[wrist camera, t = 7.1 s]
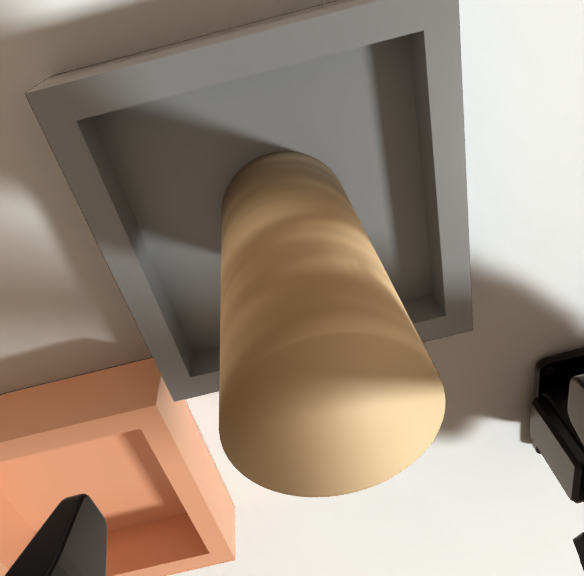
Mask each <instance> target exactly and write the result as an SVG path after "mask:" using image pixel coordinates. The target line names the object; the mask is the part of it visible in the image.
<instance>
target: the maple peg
mask: <svg viewBox="0 0 584 576" xmlns="http://www.w3.org/2000/svg"><path fill="white" fill-rule="evenodd" d="M444 413H445V392H444V387H443V384H442V381H441V379H440V376H439V374H438V372H437V370H436V368H435V366H434V365H433V363H432V361H431V359H430V357H429V355H428V353H427V351H426V349H425V347H424V345H423V343H422V341H421V339H420V337H419V335H418V333H417V331H416V329H415V327H414V325H413V324H412V322H411V320H410V318H409V316H408V314H407V312H406V310H405V308H404V306H403V304H402V302H401V300H400V298H399V296H398V294H397V292H396V290H395V288H394V286H393V285H392V283H391V281H390V279H389V277H388V275H387V273H386V271H385V269H384V267H383V265H382V263H381V261H380V259H379V257H378V255H377V253H376V251H375V249H374V247H373V245H372V244H371V242H370V240H369V238H368V236H367V234H366V232H365V230H364V228H363V226H362V224H361V222H360V220H359V218H358V216H357V214H356V212H355V210H354V208H353V206H352V205H351V203H350V201H349V199H348V197H347V195H346V193H345V191H344V189H343V187H342V185H341V183H340V181H339V180H338V178H337V176H336V175H335V174H334V173H333V171H332V170H331V169H330V168H329V167H328V166H327V165H325V164H324V163H322V162H321V161H320V160H318V159H316V158H314V157H312V156H309V155H306V154H303V153H299V152H291V151H282V152H274V153H269V154H266V155H263V156H260V157H258V158H256V159H254V160H252V161H251V162H249V163H248V164H246V165H245V166H244V167H243V168H241V169H240V170H239V171H238V172H237V173H236V175H235V176H234V177H233V179H232V180H231V181H230V183H229V185H228V187H227V189H226V191H225V194H224V197H223V202H222V223H221V305H220V387H219V433H220V440H221V443H222V446H223V449H224V452H225V453H226V455H227V457H228V459H229V460H230V462H231V463H232V464H233V465H234V467H235V468H236V469H237V470H238V471H240V472H241V473H242V474H243V475H244V476H245V477H247V478H248V479H250V480H251V481H253V482H255V483H256V484H258V485H260V486H262V487H265V488H267V489H270V490H273V491H275V492H279V493H283V494H287V495H294V496H302V497H329V496H338V495H343V494H349V493H353V492H357V491H360V490H364V489H367V488H369V487H372V486H375V485H377V484H379V483H382V482H384V481H386V480H388V479H390V478H392V477H393V476H395V475H397V474H398V473H400V472H401V471H403V470H404V469H406V468H407V467H408V466H410V465H411V464H412V463H413V462H414V461H416V460H417V459H418V458H419V457H420V456H421V455H422V454H423V453H424V452H425V451H426V449H427V448H428V447H429V446H430V444H431V443H432V441H433V440H434V439H435V437H436V435H437V433H438V431H439V429H440V427H441V424H442V421H443V418H444Z"/></svg>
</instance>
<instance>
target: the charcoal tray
mask: <svg viewBox="0 0 584 576" xmlns="http://www.w3.org/2000/svg"><path fill="white" fill-rule="evenodd" d="M25 95H26V97H27V99H28V101H29V104H30V106H31V108H32V110H33V112H34V114H35V116H36V118H37V120H38V122H39V124H40V126H41V128H42V130H43V132H44V134H45V137H46V139H47V141H48V143H49V145H50V147H51V149H52V151H53V153H54V155H55V157H56V159H57V161H58V163H59V165H60V167H61V170H62V172H63V174H64V176H65V178H66V180H67V182H68V184H69V186H70V188H71V190H72V192H73V194H74V196H75V198H76V200H77V203H78V205H79V207H80V209H81V211H82V213H83V215H84V217H85V219H86V221H87V223H88V225H89V227H90V229H91V231H92V234H93V236H94V238H95V240H96V242H97V244H98V246H99V248H100V250H101V252H102V254H103V256H104V258H105V260H106V262H107V264H108V267H109V269H110V271H111V273H112V275H113V277H114V279H115V281H116V283H117V285H118V287H119V289H120V291H121V293H122V295H123V297H124V300H125V302H126V304H127V306H128V308H129V310H130V312H131V314H132V316H133V318H134V320H135V322H136V324H137V326H138V328H139V330H140V333H141V335H142V337H143V339H144V341H145V343H146V345H147V347H148V349H149V351H150V353H151V355H152V357H153V359H154V361H155V364H156V366H157V368H158V370H159V372H160V374H161V376H162V378H163V380H164V382H165V384H166V386H167V388H168V390H169V392H170V394H171V397H172V399H173V401H174V402H176V401H180V400H184V399H188V398H192V397H196V396H201V395H205V394H209V393H213V392H217V391H219V387H220V305H221V223H222V202H223V197H224V194H225V191H226V189H227V187H228V185H229V183H230V181H231V180H232V179H233V177H234V176H235V175H236V173H237V172H238V171H239V170H240V169H241V168H243V167H244V166H245V165H246V164H248V163H249V162H251V161H252V160H254V159H256V158H258V157H260V156H263V155H266V154H269V153H274V152H282V151H291V152H299V153H303V154H306V155H309V156H312V157H314V158H316V159H318V160H320V161H321V162H322V163H324V164H325V165H327V166H328V167H329V168H330V169H331V170H332V171H333V173H334V174H335V175H336V176H337V178H338V180H339V181H340V183H341V185H342V187H343V189H344V191H345V193H346V195H347V197H348V199H349V201H350V203H351V205H352V206H353V208H354V210H355V212H356V214H357V216H358V218H359V220H360V222H361V224H362V226H363V228H364V230H365V232H366V234H367V236H368V238H369V240H370V242H371V244H372V245H373V247H374V249H375V251H376V253H377V255H378V257H379V259H380V261H381V263H382V265H383V267H384V269H385V271H386V273H387V275H388V277H389V279H390V281H391V283H392V285H393V286H394V288H395V290H396V292H397V294H398V296H399V298H400V300H401V302H402V304H403V306H404V308H405V310H406V312H407V314H408V316H409V318H410V320H411V322H412V324H413V325H414V327H415V329H416V331H417V333H418V335H419V337H420V339H421V341H422V342H425V341H430V340H434V339H438V338H442V337H446V336H450V335H455V334H459V333H463V332H467V331H471V330H473V318H472V295H471V273H470V250H469V227H468V204H467V181H466V158H465V135H464V112H463V89H462V67H461V44H460V21H459V0H338V1H334V2H330V3H327V4H323V5H319V6H315V7H311V8H308V9H304V10H300V11H296V12H292V13H289V14H285V15H281V16H277V17H273V18H270V19H266V20H262V21H258V22H254V23H251V24H247V25H243V26H239V27H235V28H232V29H228V30H224V31H220V32H216V33H213V34H209V35H205V36H201V37H197V38H194V39H190V40H186V41H182V42H178V43H175V44H171V45H167V46H163V47H159V48H156V49H152V50H148V51H144V52H140V53H137V54H133V55H129V56H125V57H121V58H118V59H114V60H110V61H106V62H102V63H99V64H95V65H91V66H87V67H83V68H80V69H76V70H72V71H68V72H64V73H61V74H57V75H53V76H50V77H49V78H47V79H46V80H44V81H43V82H41V83H40V84H38V85H37V86H35V87H34V88H32V89H31V90H30V91H28V92H27V93H25Z"/></svg>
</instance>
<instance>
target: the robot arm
mask: <svg viewBox="0 0 584 576" xmlns="http://www.w3.org/2000/svg"><path fill="white" fill-rule="evenodd" d="M547 368H548V369H547ZM530 436H531V438H532V444H533V447H534V449H535V450H536V452H537V453H539V454H542V455H543V457H544V459H545V460H546V462H547V463H548V465H549V467H550V468H551V470H552V471H553V473H554V475H555V476H556V478H557V479H558V481H559V482H560V484H561V486H562V487H563V489H564V490H565V492H566V494H567V495H568V497H569V498H570V500H572V501H574V502H575V503H581V502H584V349H580V350H576V351H572V352H567V353H563V354H559V355H555V356H551V357H546V358H544V359H542V360H540V361H539V362H538V363H537V364H536V368H535V390H534V398H533V400H532V402H531V413H530ZM573 542H574V544H575V547H576V550H577V552H578V555H579V558H580V562H581V565H582V567H583V570H584V532H583V533H581V534H580V535H578V536H577V537H575V538H574V539H573ZM106 559H107V523H106V520H105V518H104V516H103V515H102V513H101V512H100V510H99V509H98V507H97V506H96V505H95V503H94V502H93V500H92V499H91V498H90V496H89V495H87V494H78V495H74V496H70V497H67V498H64V499H63V500H62V501H61V502H60V503H59V504H58V505H57V507H56V508H55V509H54V511H53V512H52V513H51V515H50V516H49V517H48V519H47V520H46V521H45V523H44V524H43V525H42V527H41V528H40V529H39V530H38V532H37V533H36V534H35V536H34V537H33V538H32V540H31V541H30V542H29V544H28V545H27V546H26V548H25V549H24V550H23V552H22V553H21V554H20V555H19V557H18V558H17V559H16V561H15V562H14V563H13V565H12V566H11V567H10V569H9V570H8V571H7V573H6V574H5V575H4V576H106Z"/></svg>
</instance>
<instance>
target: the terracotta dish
mask: <svg viewBox="0 0 584 576" xmlns="http://www.w3.org/2000/svg"><path fill="white" fill-rule="evenodd" d="M78 494H87V495H89V496H90V498H91V499H92V500H93V502H94V503H95V505H96V506H97V507H98V509H99V510H100V512H101V513H102V515H103V516H104V518H105V520H106V523H107V559H106V576H167V575H172V574H176V573H181V572H185V571H189V570H194V569H198V568H202V567H207V566H211V565H216V564H220V563H224V562H229V561H233V560H235V506H234V504H233V502H232V500H231V497H230V495H229V493H228V491H227V489H226V487H225V485H224V482H223V480H222V478H221V476H220V474H219V472H218V470H217V467H216V465H215V463H214V461H213V459H212V457H211V455H210V452H209V450H208V448H207V446H206V444H205V442H204V440H203V437H202V435H201V433H200V431H199V429H198V427H197V425H196V423H195V420H194V418H193V416H192V414H191V412H190V410H189V408H188V405H187V403H186V401H185V399H184V400H180V401H176V402H174V401H173V399H172V397H171V394H170V392H169V390H168V388H167V386H166V384H165V382H164V380H163V378H162V376H161V374H160V372H159V370H158V368H157V366H156V364H155V361H154V359H153V358H150V359H145V360H141V361H137V362H133V363H129V364H125V365H121V366H117V367H113V368H108V369H104V370H100V371H96V372H92V373H88V374H84V375H80V376H76V377H71V378H67V379H63V380H59V381H55V382H51V383H47V384H43V385H39V386H34V387H30V388H26V389H22V390H18V391H14V392H10V393H6V394H2V395H0V576H4V575H5V574H6V573H7V571H8V570H9V569H10V567H11V566H12V565H13V563H14V562H15V561H16V559H17V558H18V557H19V555H20V554H21V553H22V552H23V550H24V549H25V548H26V546H27V545H28V544H29V542H30V541H31V540H32V538H33V537H34V536H35V534H36V533H37V532H38V530H39V529H40V528H41V527H42V525H43V524H44V523H45V521H46V520H47V519H48V517H49V516H50V515H51V513H52V512H53V511H54V509H55V508H56V507H57V505H58V504H59V503H60V502H61V501H62V500H63V499H64V498H67V497H70V496H74V495H78Z"/></svg>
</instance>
